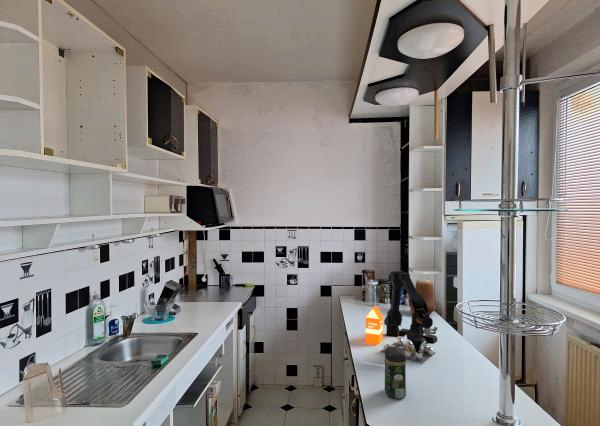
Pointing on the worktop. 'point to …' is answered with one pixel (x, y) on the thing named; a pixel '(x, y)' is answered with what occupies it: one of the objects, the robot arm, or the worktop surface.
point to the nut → (411, 350)
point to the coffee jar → (395, 373)
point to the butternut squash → (426, 293)
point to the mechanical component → (427, 331)
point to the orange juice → (374, 327)
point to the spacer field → (426, 350)
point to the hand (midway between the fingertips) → (417, 352)
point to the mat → (413, 357)
